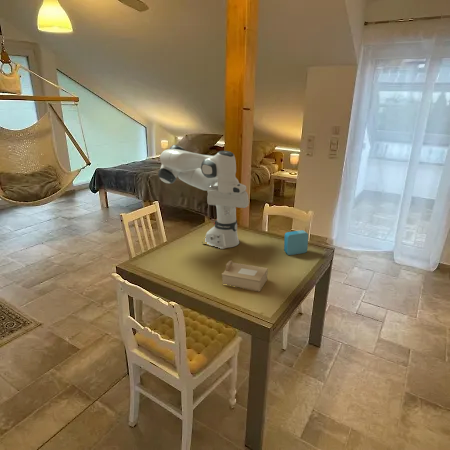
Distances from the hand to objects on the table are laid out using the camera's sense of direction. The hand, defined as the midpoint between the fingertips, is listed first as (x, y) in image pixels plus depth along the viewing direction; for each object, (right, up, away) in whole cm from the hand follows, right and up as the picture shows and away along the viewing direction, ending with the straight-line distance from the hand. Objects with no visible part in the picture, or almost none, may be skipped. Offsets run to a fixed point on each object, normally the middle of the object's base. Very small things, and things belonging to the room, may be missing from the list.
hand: (228, 214), depth 168 cm
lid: (+8, -27, -5) cm, 29 cm away
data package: (+38, -20, +26) cm, 50 cm away
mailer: (+8, -32, -3) cm, 33 cm away
